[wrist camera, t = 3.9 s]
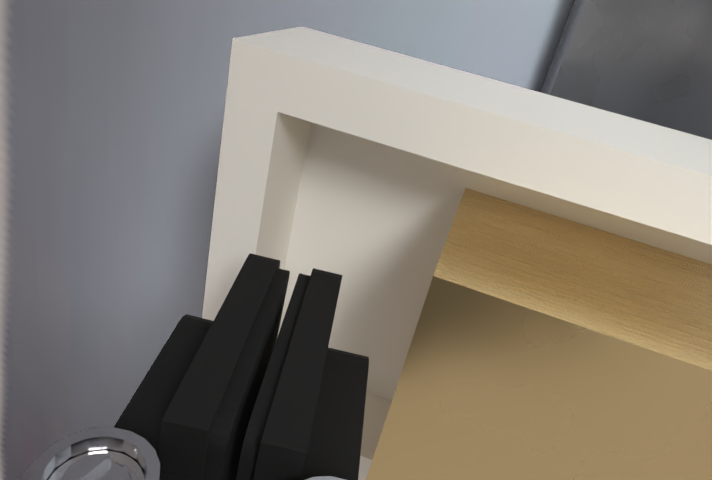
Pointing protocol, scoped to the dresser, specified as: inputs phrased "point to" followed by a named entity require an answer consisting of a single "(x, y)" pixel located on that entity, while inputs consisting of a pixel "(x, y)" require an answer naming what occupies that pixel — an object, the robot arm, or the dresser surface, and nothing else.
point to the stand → (638, 61)
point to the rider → (553, 357)
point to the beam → (418, 180)
